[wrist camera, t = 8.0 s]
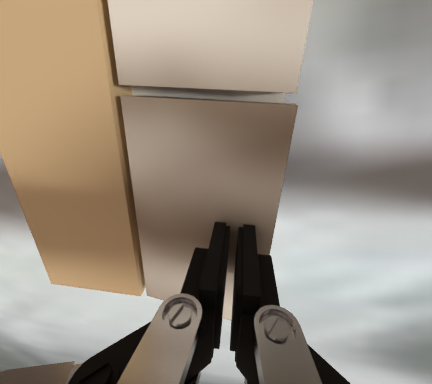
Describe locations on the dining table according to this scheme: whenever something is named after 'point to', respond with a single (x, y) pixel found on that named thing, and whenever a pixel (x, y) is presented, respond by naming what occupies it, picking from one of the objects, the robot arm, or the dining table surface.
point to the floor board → (75, 139)
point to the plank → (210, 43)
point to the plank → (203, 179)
